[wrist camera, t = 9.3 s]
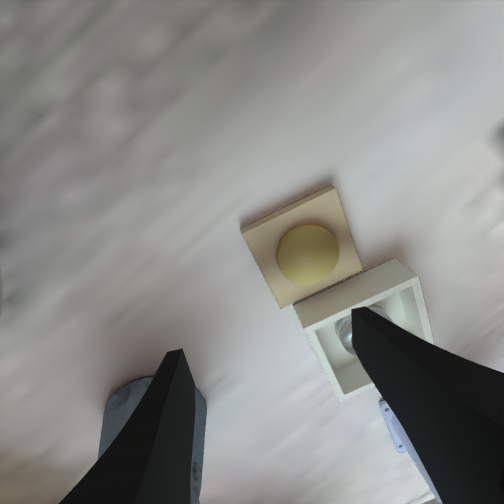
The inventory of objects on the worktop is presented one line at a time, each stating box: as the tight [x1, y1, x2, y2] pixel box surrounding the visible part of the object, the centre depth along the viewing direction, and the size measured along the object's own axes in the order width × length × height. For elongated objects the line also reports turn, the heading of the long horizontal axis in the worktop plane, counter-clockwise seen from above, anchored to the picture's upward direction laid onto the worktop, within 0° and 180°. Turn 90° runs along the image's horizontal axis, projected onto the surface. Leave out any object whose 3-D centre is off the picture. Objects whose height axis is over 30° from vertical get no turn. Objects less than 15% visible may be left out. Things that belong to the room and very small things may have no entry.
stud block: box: [240, 185, 363, 309], centre depth 22 cm, size 7×7×2 cm
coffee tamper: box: [335, 303, 393, 356], centre depth 23 cm, size 4×4×6 cm
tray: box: [293, 258, 434, 402], centre depth 25 cm, size 9×9×3 cm
